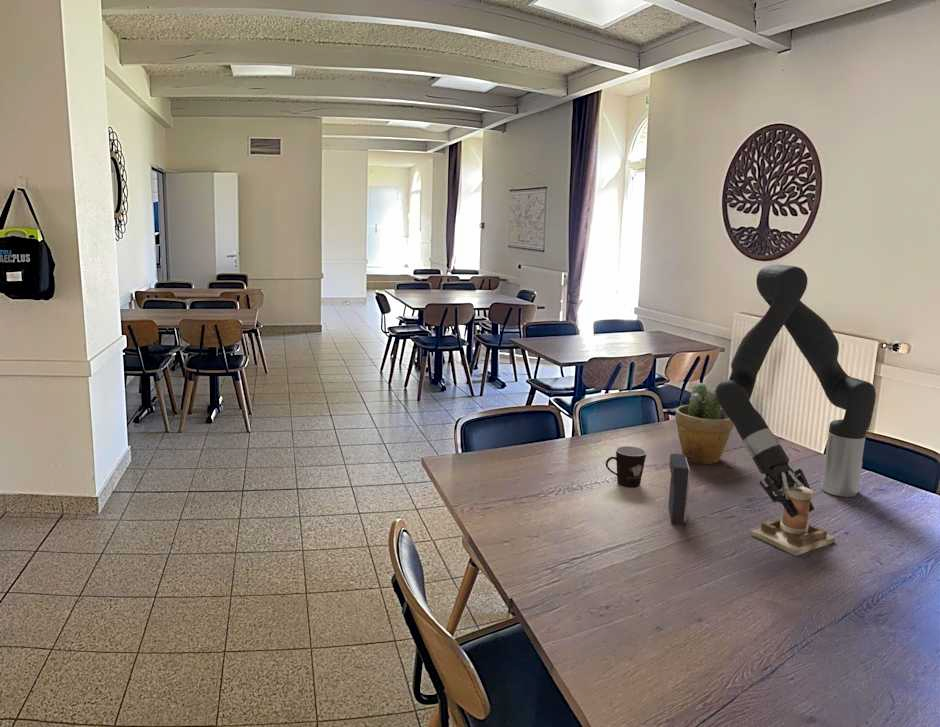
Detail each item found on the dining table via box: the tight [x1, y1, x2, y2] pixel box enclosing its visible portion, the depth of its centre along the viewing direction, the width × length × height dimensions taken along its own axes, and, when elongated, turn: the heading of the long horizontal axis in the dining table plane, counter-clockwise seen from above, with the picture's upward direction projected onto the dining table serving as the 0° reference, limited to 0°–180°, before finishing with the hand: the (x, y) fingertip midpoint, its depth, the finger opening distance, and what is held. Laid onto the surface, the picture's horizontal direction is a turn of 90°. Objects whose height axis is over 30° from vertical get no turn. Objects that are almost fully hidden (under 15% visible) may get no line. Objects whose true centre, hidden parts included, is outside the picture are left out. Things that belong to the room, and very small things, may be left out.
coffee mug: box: [605, 445, 647, 489], centre depth 200 cm, size 12×9×10 cm
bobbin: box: [780, 484, 814, 535], centre depth 167 cm, size 6×6×10 cm
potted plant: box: [674, 382, 735, 465], centre depth 222 cm, size 18×19×25 cm
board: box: [751, 516, 836, 557], centre depth 169 cm, size 15×12×3 cm
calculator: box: [667, 453, 691, 525], centre depth 179 cm, size 11×4×15 cm, turn 168°
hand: (802, 513), depth 166 cm, fingers closed on bobbin, 5 cm apart
